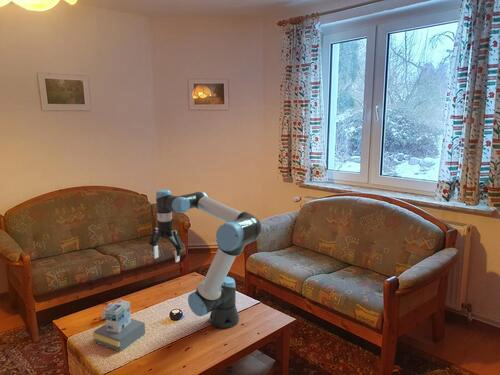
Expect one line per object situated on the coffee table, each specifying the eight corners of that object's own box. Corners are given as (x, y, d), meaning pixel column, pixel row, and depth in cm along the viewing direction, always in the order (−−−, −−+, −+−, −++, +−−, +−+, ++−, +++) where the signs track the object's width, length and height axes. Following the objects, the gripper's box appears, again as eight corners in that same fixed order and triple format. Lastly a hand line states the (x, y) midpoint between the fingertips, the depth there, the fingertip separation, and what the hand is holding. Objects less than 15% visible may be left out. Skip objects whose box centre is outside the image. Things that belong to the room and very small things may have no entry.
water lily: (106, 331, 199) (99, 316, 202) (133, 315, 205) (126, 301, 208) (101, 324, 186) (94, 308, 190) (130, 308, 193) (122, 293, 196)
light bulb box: (118, 333, 173) (117, 311, 171) (105, 331, 175) (104, 309, 173) (131, 321, 183) (130, 300, 181) (119, 319, 185) (118, 299, 183)
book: (145, 333, 183) (144, 322, 182) (118, 353, 169) (117, 340, 167) (120, 326, 191) (119, 315, 190) (93, 343, 176) (92, 331, 175)
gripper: (140, 219, 195) (143, 258, 199) (180, 224, 185) (182, 265, 189) (150, 216, 202) (152, 254, 206) (189, 220, 192) (191, 260, 195)
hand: (166, 259), depth 197 cm, fingers open, 13 cm apart
